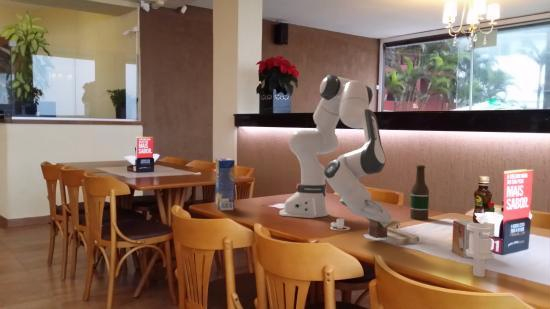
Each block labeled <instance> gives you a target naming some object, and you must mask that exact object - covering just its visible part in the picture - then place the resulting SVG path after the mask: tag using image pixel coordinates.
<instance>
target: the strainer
mask: <svg viewBox="0 0 550 309" xmlns="http://www.w3.org/2000/svg"><path fill="white" fill-rule="evenodd" d="M476 227H477V228H476ZM467 230H470V231H474V233H472V232H470V234H469V249H466V255H467V256H469V257H473V258H472V259H473V261H472V262H473V263H472V275H473V276H475V277H479V278H484V277H486V274H485V273H486V260H490V259H493V258H494V255H495V254H494V252H493V251H491V250H492V249H491V248H492V247H491V246H492V238H493V237H495V223H492V222H488V221H484V222H482V223H476V222H473V223H471V224H467ZM479 232H481V235H480V236H479Z"/></svg>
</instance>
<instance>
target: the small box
mask: <svg viewBox="0 0 550 309" xmlns="http://www.w3.org/2000/svg"><path fill="white" fill-rule="evenodd" d="M471 223H474V222H473V221H471V220H466V219H465V220H464V219H461V220H459V219H457V220H456V219H454V220H453V222H452V224H453V225H452V240H451V242H452V243H451V244H452V245H451V252H452V253H455V254H456V255H458V256H460V257H461V258H463V259H467V258H468V259H470V258H472V259H473V257H469V256H467V255H466V249H469V234H470V232H472V233H474V231H470V230H467V224H471ZM476 228H477V227H476ZM481 232H482V231H481ZM481 232H479V236H480V235H481Z"/></svg>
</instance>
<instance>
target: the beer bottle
mask: <svg viewBox="0 0 550 309" xmlns="http://www.w3.org/2000/svg"><path fill="white" fill-rule="evenodd" d="M425 168H426V165H423V164H422V165H421V164H419V165H416V175H415V183H414V184H413V185H412V188H411V190H410V210H409V211H410V219H412V220H417V221H426V220H428V219H429V205H430V203H429V201H430V190H429V188H428V185H427V184H426V178H425V177H426V176H425Z"/></svg>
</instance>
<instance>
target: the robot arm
mask: <svg viewBox="0 0 550 309" xmlns="http://www.w3.org/2000/svg"><path fill="white" fill-rule="evenodd" d="M319 95H320V97H321V99H320V101H319V102H318V105H317V107H316V109H315V111H314V113H313V115H312V118H313V121H314V124H315V125H316V128H315V129H313V130H310V129H309V130H308V129H306V130H305V129H304V130H303V129H302V130H299V131H294V132H293V133H291V134H290V136H289V138H288V146H289V149H290V151H291V152H292V153H293V154H294V155H295V156H296V157H297V160H298V162H299V166H300V183H297V184H296V185H295V186H296V192H295V193H293V194H292V195H291V196H289V197H288V198H287V199H286V200H285V201H284V205H283V208H282V209H281V210H279V215H280V216H283V217H292V218H293V217H295V218H308V219H315V218H320V217H322V218H323V217H327V216H328V215H329V213H328V208H327V203H326V197H327V196H326V195H327V185H326V182H327V183H328V185H329V186H330V187H331V188H332V189H333V191H334V192H335V193H336V194H337V195H339V196H340V197H341V198H340V199H339V202H340V204H341V205H342V206H345V207H346V208H347V210H349V211H350V213H352V214H354V215H356V216H359V217H363V218H365V219H366V220H367V221H368V222H370V219H372V220H375V221H378V222H380V225H381V226H382V227H386V226H387V223H388V222H389V221H391V219H392V218H393V215H392V213H391V212H390V211H389V210H388V209H387V208H386V207H385V206H384V205H383V204H381V203H380V202H378V201H374V200H372V194H371V193H370V191H369V190H368V189H367V188H366V186H365V185H364V184H363V183H362V182H360V181H359V180H360V178H362V177H365V176H368V175H373V174H377V173H381V172H382V171H383V169H384V168H385V164H386V161H387V160H386V159H387V158H386V155H385V151H384V149H383V148H384V147H383V146H382V145H383V144H382V141H381V140H382V139H381V134H380V129H379V123H378V120H377V116H376V114H375V113H374V111H373V110H371V109H370V108H369V107H370V104H371V102H372V99H373V95H374V94H373V90H372V88H371V87H369V86H368V85H367V84H365V83H364V82H362V81H360V80H355V79H354V80H353V79H349V78H347V77H342V76H338V75H334V74H328V75H326V76H324V78H323V79H322V81H321V83H320V84H319ZM339 121H341V122H342V124H344V125H345V126H347V127H349V128H352V129H357V130H358V129H360V130H361V129H363V133H364V139H365V142H364V144H363V146H361V147H360V148H358V149H357V148H356V149H353V150H352V151H348V152H346V153H342V154H341V155H339V156H337V158H336V159H334V160H331V161H330V162H329V163H328V164H326V166H325V165H323V164H322V163H320V161H319V160H318V155H325V154H330V153H333V152H335V151H336V150H337V148H338V146H339V139H338V135H337V134H336V127H337V125H338V123H339ZM387 227H388V226H387Z"/></svg>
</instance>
